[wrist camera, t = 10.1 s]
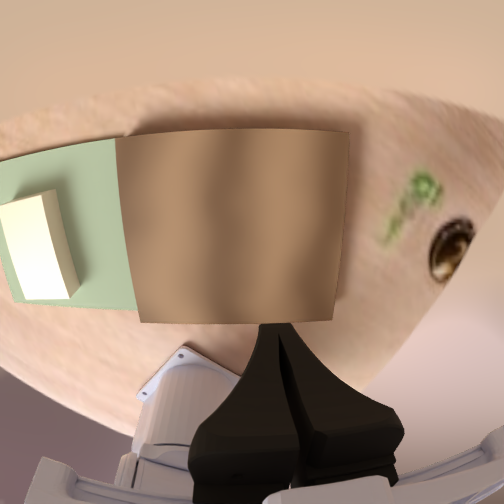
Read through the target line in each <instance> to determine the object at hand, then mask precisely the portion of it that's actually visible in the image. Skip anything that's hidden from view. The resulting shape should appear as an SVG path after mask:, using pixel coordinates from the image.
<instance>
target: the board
mask: <svg viewBox="0 0 504 504" xmlns="http://www.w3.org/2000/svg"><path fill="white" fill-rule="evenodd" d="M115 151H116V166H117V178H118V188H119V198H120V207H121V215H122V223H123V230H124V237H125V244H126V250H127V256H128V262H129V268H130V273H131V279H132V284H133V289H134V294H135V299H136V304H137V308H138V313H139V317H140V322H141V323H168V324H260V323H290V322H310V321H327V320H332V318H333V311H334V305H335V298H336V290H337V283H338V275H339V267H340V259H341V250H342V240H343V230H344V219H345V207H346V193H347V178H348V158H349V132H337V131H322V130H303V129H260V128H254V129H211V130H192V131H178V132H165V133H155V134H145V135H136V136H128V137H120V138H115Z"/></svg>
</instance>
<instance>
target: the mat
mask: <svg viewBox="0 0 504 504" xmlns="http://www.w3.org/2000/svg"><path fill="white" fill-rule="evenodd" d="M53 189H56V193H57V198H58V203H59V208H60V213H61V217H62V221H63V226H64V230H65V234H66V238H67V242H68V246H69V249H70V253H71V257H72V260H73V264H74V267H75V270H76V274H77V277H78V280H79V283H80V288H79V289H78V290H77V291H76V292H75V293H74V294H73V296H72V297H71V298H70V299H26V298H25V296H24V293H23V290H22V288H21V285H20V282H19V279H18V277H17V274H16V271H15V268H14V265H13V262H12V258H11V255H10V252H9V249H8V245H7V242H6V238H5V234H4V231H3V227H2V223H1V219H0V257H1V261H2V265H3V268H4V272H5V275H6V278H7V281H8V284H9V288H10V291H11V293H12V296H13V299H14V302H17V303H28V304H38V305H50V306H63V307H77V308H93V309H113V310H138V308H137V304H136V299H135V294H134V289H133V284H132V279H131V273H130V268H129V262H128V256H127V250H126V244H125V237H124V230H123V223H122V215H121V207H120V198H119V188H118V178H117V166H116V151H115V138H113V139H107V140H100V141H94V142H88V143H82V144H76V145H71V146H66V147H61V148H56V149H51V150H46V151H42V152H38V153H33V154H29V155H25V156H21V157H17V158H13V159H10V160H6V161H2V162H0V205H2V204H4V203H6V202H9V201H11V200H13V199H17V198H21V197H24V196H28V195H32V194H36V193H40V192H44V191H48V190H53Z"/></svg>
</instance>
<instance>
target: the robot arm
mask: <svg viewBox="0 0 504 504" xmlns="http://www.w3.org/2000/svg"><path fill="white" fill-rule="evenodd" d="M180 354H183V355H180ZM136 398H137V399H138V400H140V401H142V402H143V407H142V410H141V414H140V417H139V421H138V424H137V428H136V431H135V435H134V439H133V442H132V452H129V453H128V454H125V455H123V456H122V457H121V460H120V463H119V467H118V471H117V474H116V478H115V482H114V485H113V484H108V483H104V482H100V481H96V480H92V479H89V478H85V477H82V476H78V475H77V473H76V472H75V471H74V470H73V469H72V468H71V467H70V466H68V465H66V464H63V463H61V462H58V461H54V460H52V459H49V458H46V457H42V458H41V460H40V463H39V465H38V468H37V470H36V472H35V475H34V477H33V480H32V483H31V485H30V488H29V490H28V493H27V496H26V499H25V501H24V504H476V503H477V502H479V501H481V500H482V499H484V498H486V497H487V496H489V495H491V494H492V493H494V492H496V491H497V490H499V489H500V488H501V487H502V486H503V485H504V425H503V426H501V427H499V428H497V429H495V430H494V431H492V432H490V433H489V434H488V435H487V436H486V437H485V438H484V439H483V440H482V442H481V444H479V445H477V446H475V447H473V448H471V449H468V450H466V451H464V452H462V453H459V454H457V455H455V456H452V457H450V458H447V459H445V460H442V461H440V462H437V463H434V464H432V465H429V466H426V467H423V468H420V469H417V470H414V471H411V472H408V473H405V474H401V475H397V472H396V469H395V467H394V464H395V462H396V459H395V456H394V451H395V450H396V448H397V447H398V445H399V444H400V442H401V441H402V439H403V436H404V434H405V433H404V428H403V425H402V423H401V421H400V419H399V417H398V416H397V415H396V413H395V411H394V409H393V408H390V407H388V406H385V405H383V404H381V403H379V402H376V401H374V400H372V399H370V398H368V397H366V396H365V395H363V394H361V393H359V392H358V391H356V390H355V389H353V388H352V387H350V386H349V385H347V384H346V383H344V382H343V381H342V380H340V379H339V378H338V377H337V376H335V375H334V374H333V373H332V372H331V371H330V370H329V369H328V368H326V367H325V366H324V365H323V364H322V362H321V361H320V360H319V359H318V358H317V357H316V356H315V355H314V354H313V353H312V351H311V350H310V349H309V348H308V347H307V345H306V344H305V343H304V342H303V340H302V339H301V337H300V336H299V335H298V333H297V332H296V330H295V329H294V327H293V326H292V324H291V323H269V324H260V325H259V332H258V338H257V341H256V345H255V348H254V350H253V353H252V356H251V358H250V360H249V362H248V365H247V367H246V369H245V371H244V372H243V374H242V376H241V377H240V376H238V375H236V374H234V373H232V372H231V371H229V370H227V369H225V368H223V367H222V366H220V365H218V364H216V363H214V362H213V361H211V360H209V359H208V358H206V357H204V356H202V355H201V354H199V353H197V352H196V351H194V350H192V349H191V348H189V347H187V346H181V347H180V348H179V349H178V350H177V351H176V352H175V353H174V354H173V355H172V356H171V357H170V358H169V360H168V361H167V362H166V363H165V364H164V365H163V366H162V367H161V368H160V369H159V370H158V371H157V372H156V373H155V375H154V376H153V377H152V378H151V379H150V380H149V381H148V382H147V383H146V384H145V385H144V386H143V387H142V388H141V389H140V391H139V392H138V393H137V395H136ZM290 484H291V489H289V485H290Z"/></svg>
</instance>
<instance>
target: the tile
mask: <svg viewBox="0 0 504 504" xmlns="http://www.w3.org/2000/svg"><path fill="white" fill-rule="evenodd" d="M0 219H1V223H2V227H3V231H4V234H5V238H6V242H7V245H8V249H9V252H10V255H11V258H12V262H13V265H14V268H15V271H16V274H17V277H18V279H19V282H20V285H21V288H22V290H23V293H24V296H25V298H26V299H70V298H71V297H72V296H73V294H74V293H75V292H76V291H77V290H78V289H79V288H80V283H79V280H78V277H77V274H76V270H75V267H74V264H73V260H72V257H71V253H70V249H69V246H68V242H67V238H66V234H65V230H64V226H63V221H62V217H61V213H60V208H59V203H58V198H57V193H56V189H53V190H48V191H44V192H40V193H36V194H32V195H28V196H24V197H21V198H17V199H13V200H11V201H9V202H6V203H4V204H2V205H0Z"/></svg>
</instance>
